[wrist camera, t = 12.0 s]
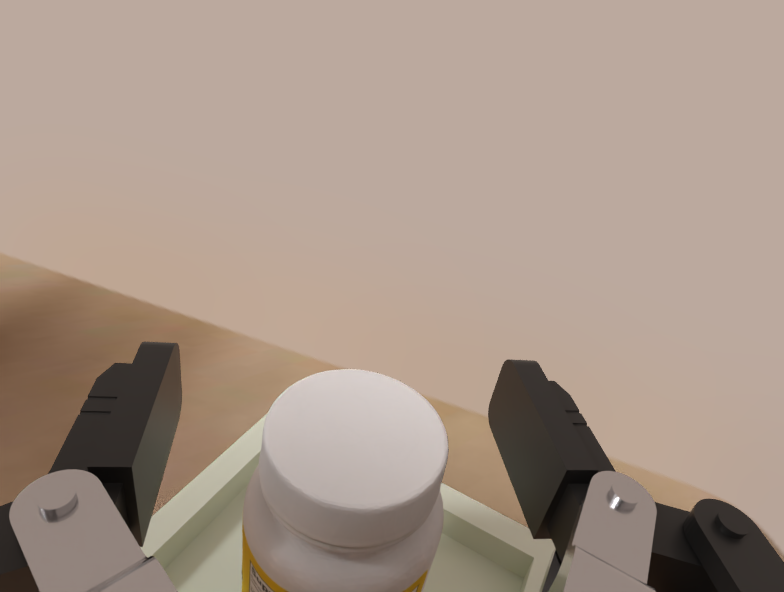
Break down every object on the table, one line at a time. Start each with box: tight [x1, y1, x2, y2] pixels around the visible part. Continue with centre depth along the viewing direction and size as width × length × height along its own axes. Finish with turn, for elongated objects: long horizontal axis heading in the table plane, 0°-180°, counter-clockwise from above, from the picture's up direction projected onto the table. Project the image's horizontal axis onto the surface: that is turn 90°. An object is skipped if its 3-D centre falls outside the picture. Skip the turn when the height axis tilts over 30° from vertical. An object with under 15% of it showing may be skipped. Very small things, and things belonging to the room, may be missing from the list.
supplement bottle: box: [242, 369, 449, 592], centre depth 13 cm, size 5×5×8 cm
